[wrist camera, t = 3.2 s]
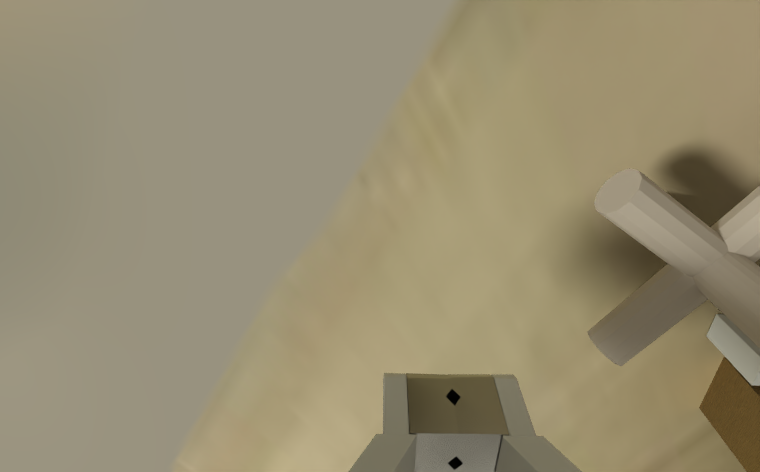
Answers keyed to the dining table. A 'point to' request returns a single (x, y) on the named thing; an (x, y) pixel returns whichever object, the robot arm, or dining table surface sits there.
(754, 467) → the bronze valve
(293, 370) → the dining table surface
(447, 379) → the robot arm
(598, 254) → the dining table surface
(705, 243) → the beige crossed rod piece
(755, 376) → the socket cradle
